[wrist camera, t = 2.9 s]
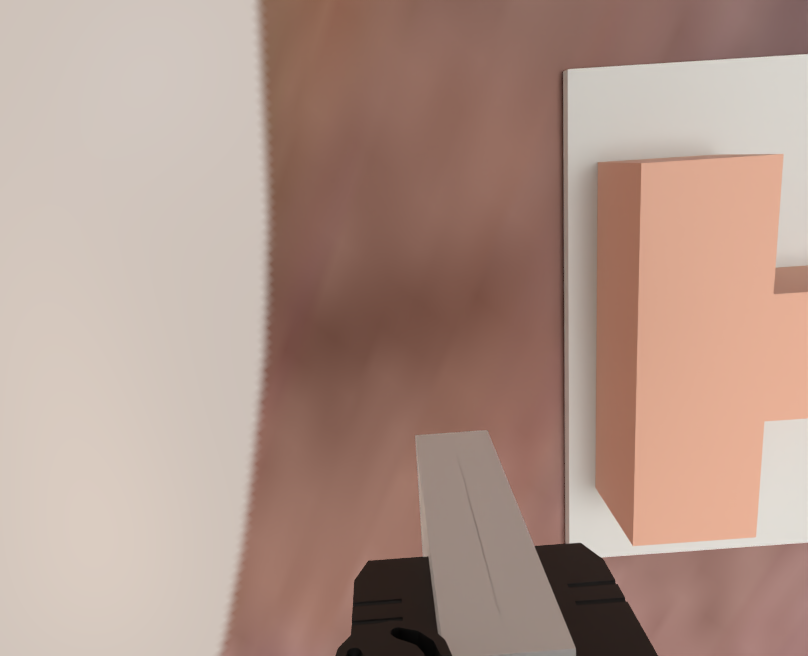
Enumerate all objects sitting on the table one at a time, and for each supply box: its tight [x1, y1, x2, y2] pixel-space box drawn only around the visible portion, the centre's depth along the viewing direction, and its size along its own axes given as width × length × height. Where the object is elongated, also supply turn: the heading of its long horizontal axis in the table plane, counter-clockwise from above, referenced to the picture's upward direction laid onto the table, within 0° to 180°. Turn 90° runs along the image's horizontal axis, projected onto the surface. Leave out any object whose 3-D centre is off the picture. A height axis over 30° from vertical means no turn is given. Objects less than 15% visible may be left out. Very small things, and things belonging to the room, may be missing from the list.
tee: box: [595, 154, 808, 546], centre depth 22 cm, size 12×12×4 cm
